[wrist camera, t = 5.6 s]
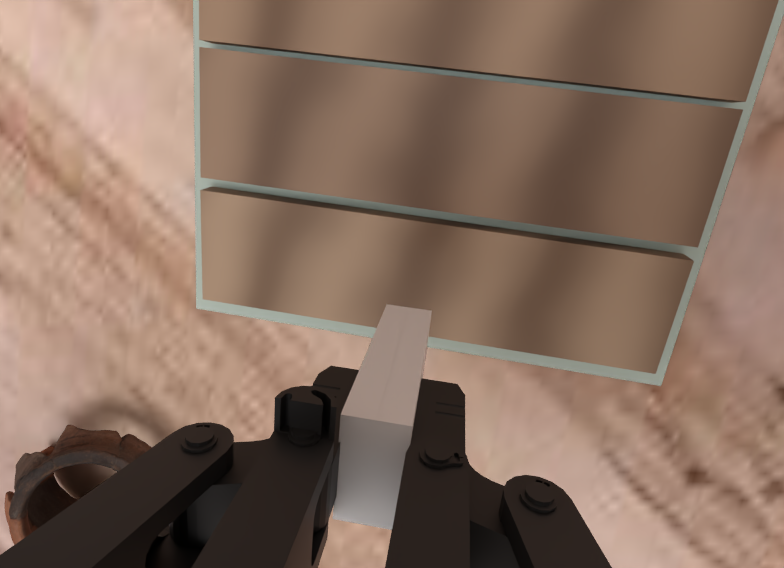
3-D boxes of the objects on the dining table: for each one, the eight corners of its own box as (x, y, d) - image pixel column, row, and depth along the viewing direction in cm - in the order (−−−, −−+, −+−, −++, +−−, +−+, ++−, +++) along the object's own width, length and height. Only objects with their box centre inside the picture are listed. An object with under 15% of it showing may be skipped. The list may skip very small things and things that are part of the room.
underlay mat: (794, -36, 21) (800, -38, 20) (658, 382, 27) (661, 386, 27) (196, -88, 23) (192, -92, 23) (199, 306, 29) (196, 308, 29)
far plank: (683, 253, 24) (694, 260, 23) (647, 362, 26) (655, 373, 25) (211, 186, 27) (200, 190, 25) (213, 291, 29) (202, 299, 27)
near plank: (728, 110, 22) (743, 109, 21) (687, 241, 24) (697, 247, 23) (211, 50, 24) (199, 46, 23) (211, 174, 26) (200, 177, 25)
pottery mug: (31, 404, 34) (-24, 448, 26) (181, 392, 37) (172, 428, 30) (38, 575, 35) (-14, 666, 27) (185, 549, 38) (176, 625, 30)
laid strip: (772, -28, 20) (790, -36, 19) (731, 102, 22) (745, 101, 21) (211, -78, 23) (198, -88, 22) (211, 43, 24) (199, 39, 23)
